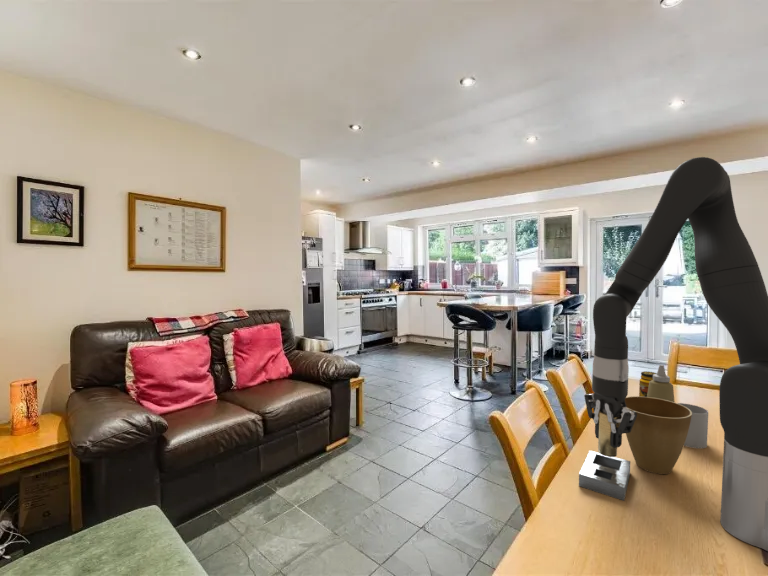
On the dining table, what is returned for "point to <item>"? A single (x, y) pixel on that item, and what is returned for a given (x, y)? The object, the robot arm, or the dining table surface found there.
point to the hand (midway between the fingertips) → (607, 442)
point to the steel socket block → (605, 475)
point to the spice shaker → (605, 436)
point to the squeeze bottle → (661, 386)
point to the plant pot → (657, 432)
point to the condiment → (645, 383)
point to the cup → (697, 427)
